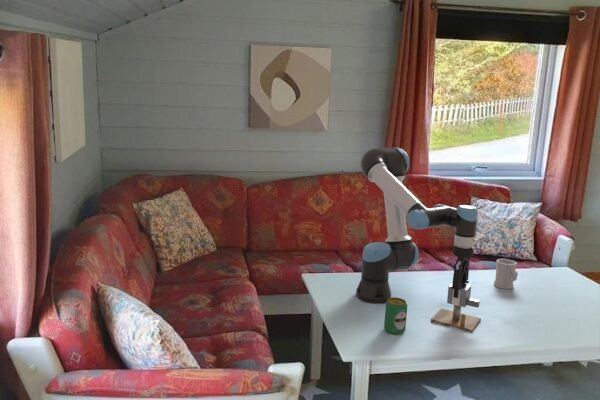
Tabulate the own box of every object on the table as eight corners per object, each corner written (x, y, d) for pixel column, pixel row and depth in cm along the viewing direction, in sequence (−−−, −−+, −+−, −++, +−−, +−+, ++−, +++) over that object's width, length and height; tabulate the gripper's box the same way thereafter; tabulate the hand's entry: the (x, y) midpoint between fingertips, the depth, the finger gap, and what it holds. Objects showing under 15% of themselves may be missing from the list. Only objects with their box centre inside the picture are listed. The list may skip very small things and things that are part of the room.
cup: (519, 286, 259) (522, 261, 256) (514, 291, 252) (518, 267, 249) (496, 281, 264) (499, 257, 262) (491, 286, 257) (494, 262, 254)
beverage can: (391, 336, 202) (393, 306, 200) (379, 327, 209) (382, 298, 207) (409, 333, 205) (412, 303, 203) (397, 324, 212) (399, 295, 210)
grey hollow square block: (447, 303, 215) (448, 286, 213) (452, 297, 221) (453, 281, 219) (476, 309, 209) (478, 292, 208) (480, 304, 215) (482, 287, 213)
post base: (430, 321, 216) (433, 300, 214) (441, 310, 227) (443, 290, 225) (471, 332, 208) (474, 310, 206) (480, 320, 219) (482, 299, 217)
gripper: (466, 253, 201) (460, 312, 206) (480, 241, 218) (474, 296, 222) (446, 250, 205) (441, 307, 209) (461, 238, 221) (456, 291, 226)
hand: (458, 301), depth 216 cm, fingers closed on grey hollow square block, 7 cm apart
